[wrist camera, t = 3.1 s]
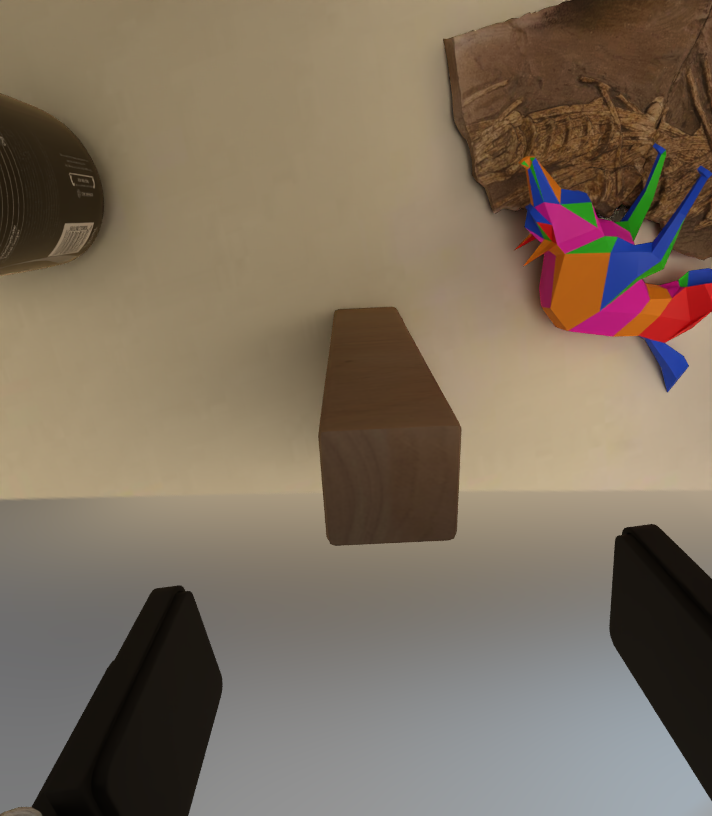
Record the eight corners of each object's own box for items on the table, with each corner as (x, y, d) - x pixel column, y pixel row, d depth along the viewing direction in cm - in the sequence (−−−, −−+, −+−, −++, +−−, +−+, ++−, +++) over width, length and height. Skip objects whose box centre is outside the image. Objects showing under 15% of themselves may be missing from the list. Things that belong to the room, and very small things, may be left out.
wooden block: (333, 308, 24) (316, 430, 10) (397, 305, 24) (463, 423, 10) (341, 423, 27) (334, 646, 13) (398, 421, 27) (453, 640, 13)
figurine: (593, 84, 16) (446, 301, 21) (869, 274, 19) (685, 416, 25) (557, 71, 19) (436, 263, 24) (801, 238, 23) (651, 371, 28)
